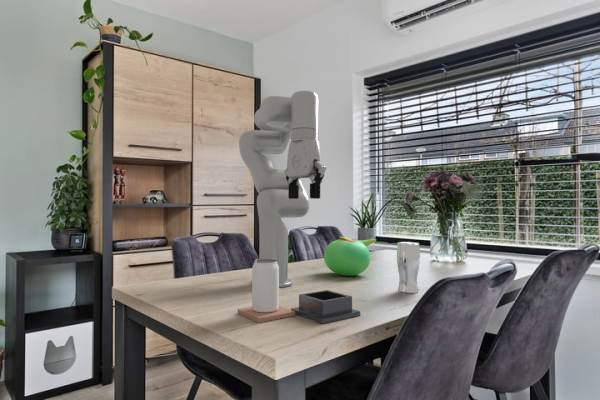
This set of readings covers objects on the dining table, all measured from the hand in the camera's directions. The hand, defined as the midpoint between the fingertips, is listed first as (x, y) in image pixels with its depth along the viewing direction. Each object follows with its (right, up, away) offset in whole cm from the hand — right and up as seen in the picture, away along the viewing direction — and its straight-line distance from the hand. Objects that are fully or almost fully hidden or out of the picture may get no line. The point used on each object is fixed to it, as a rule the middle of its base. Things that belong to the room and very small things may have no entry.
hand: (303, 198), depth 115 cm
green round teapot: (+17, -29, +42) cm, 54 cm away
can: (-9, -27, -14) cm, 32 cm away
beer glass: (+32, -29, +13) cm, 45 cm away
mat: (-9, -28, -15) cm, 33 cm away
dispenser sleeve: (+5, -28, -14) cm, 32 cm away
